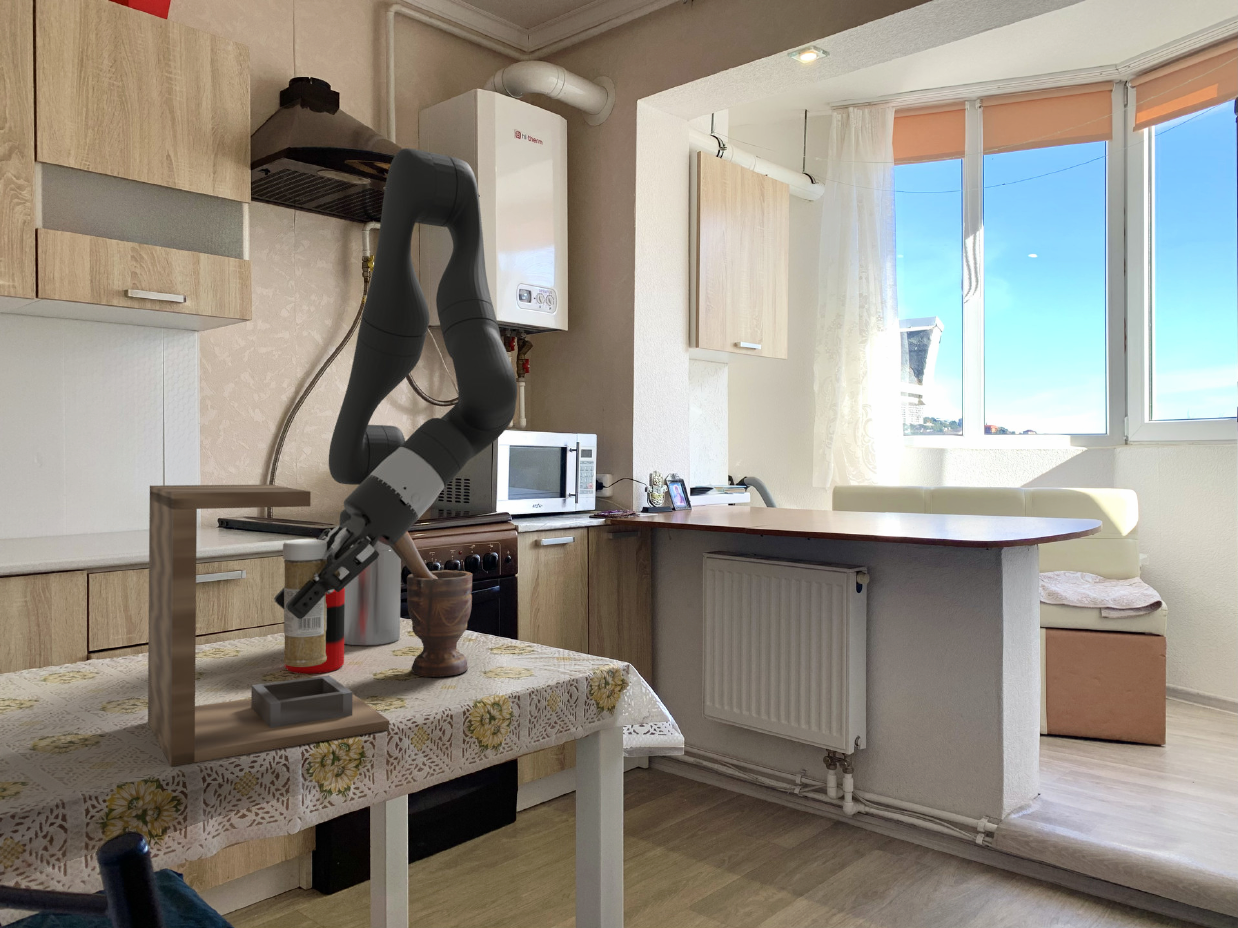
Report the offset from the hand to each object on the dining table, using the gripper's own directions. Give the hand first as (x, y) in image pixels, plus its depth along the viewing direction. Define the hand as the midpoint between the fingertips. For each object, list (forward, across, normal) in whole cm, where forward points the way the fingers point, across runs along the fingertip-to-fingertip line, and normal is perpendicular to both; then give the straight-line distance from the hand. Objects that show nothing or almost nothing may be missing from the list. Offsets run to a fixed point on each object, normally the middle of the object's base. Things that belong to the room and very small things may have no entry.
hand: (286, 609), depth 97 cm
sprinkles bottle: (+3, 0, +6) cm, 7 cm away
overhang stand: (+10, 0, +7) cm, 13 cm away
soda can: (+2, -23, +16) cm, 28 cm away
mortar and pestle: (-6, -12, +24) cm, 28 cm away
